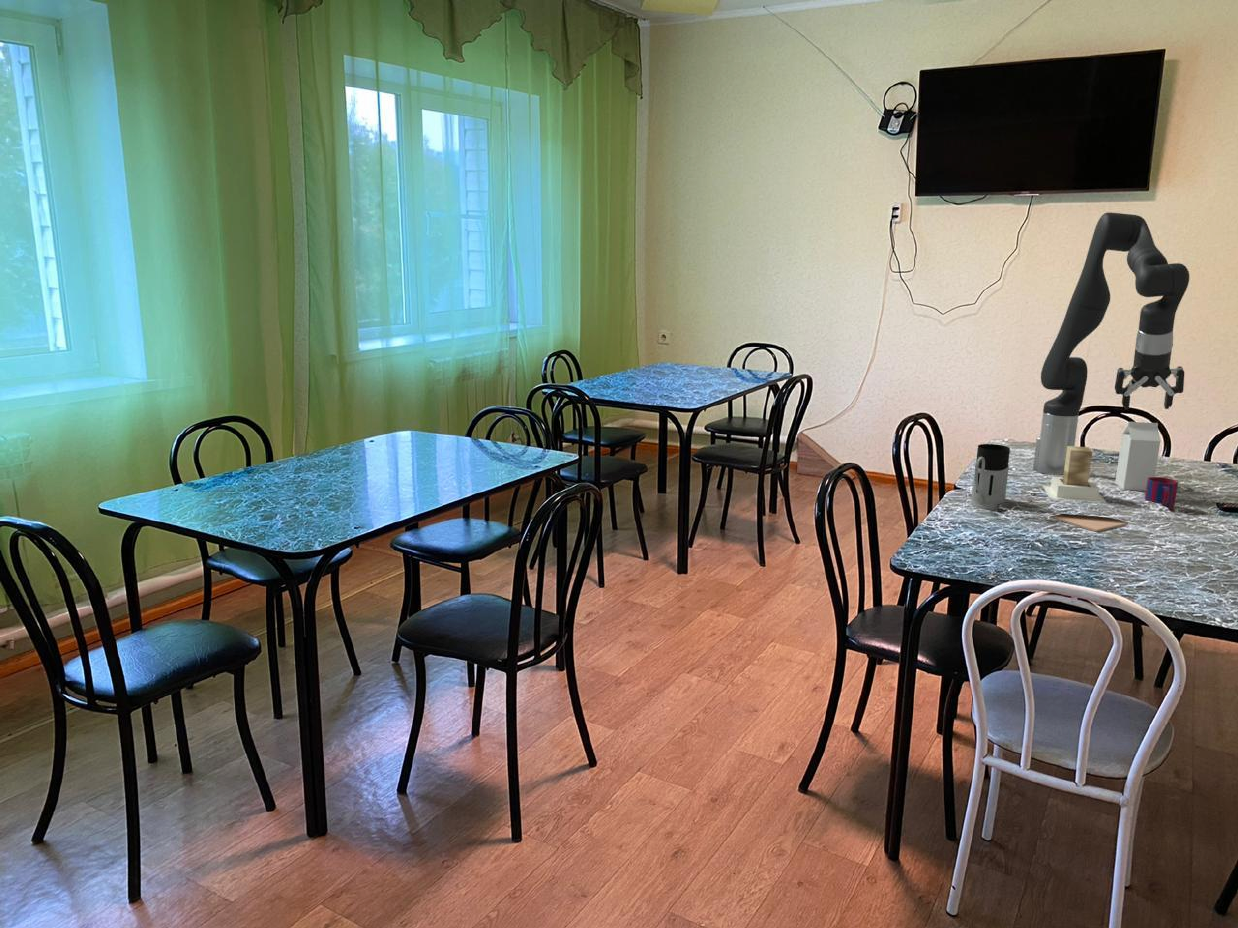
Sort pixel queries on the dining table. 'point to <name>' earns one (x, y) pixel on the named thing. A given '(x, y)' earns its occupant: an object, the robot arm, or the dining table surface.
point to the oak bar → (1077, 466)
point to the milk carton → (1138, 455)
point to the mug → (1162, 491)
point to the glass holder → (990, 476)
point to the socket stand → (1073, 491)
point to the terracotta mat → (1090, 521)
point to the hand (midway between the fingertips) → (1146, 407)
